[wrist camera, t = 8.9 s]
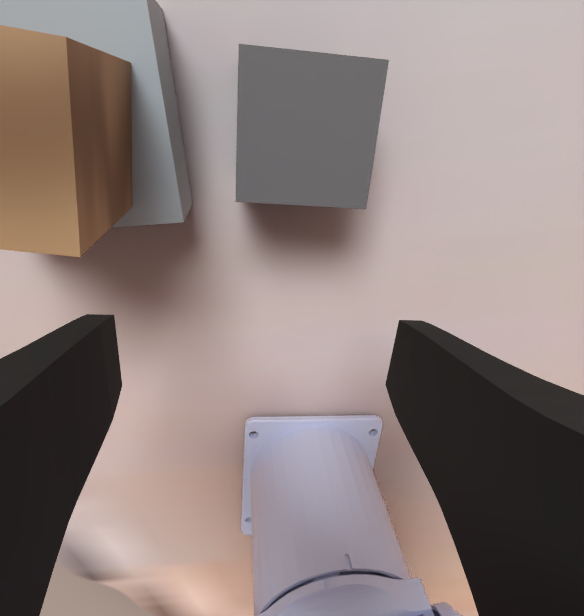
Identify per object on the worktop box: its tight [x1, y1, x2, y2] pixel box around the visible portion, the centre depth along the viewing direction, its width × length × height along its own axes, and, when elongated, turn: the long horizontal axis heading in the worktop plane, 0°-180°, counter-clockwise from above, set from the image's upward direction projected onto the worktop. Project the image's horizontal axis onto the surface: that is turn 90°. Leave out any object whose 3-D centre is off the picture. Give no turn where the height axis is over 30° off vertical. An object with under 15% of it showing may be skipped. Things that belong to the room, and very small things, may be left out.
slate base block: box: [0, 0, 193, 228], centre depth 15 cm, size 7×7×4 cm
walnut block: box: [0, 25, 133, 257], centre depth 11 cm, size 4×4×6 cm
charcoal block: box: [236, 44, 389, 209], centre depth 15 cm, size 4×4×4 cm
